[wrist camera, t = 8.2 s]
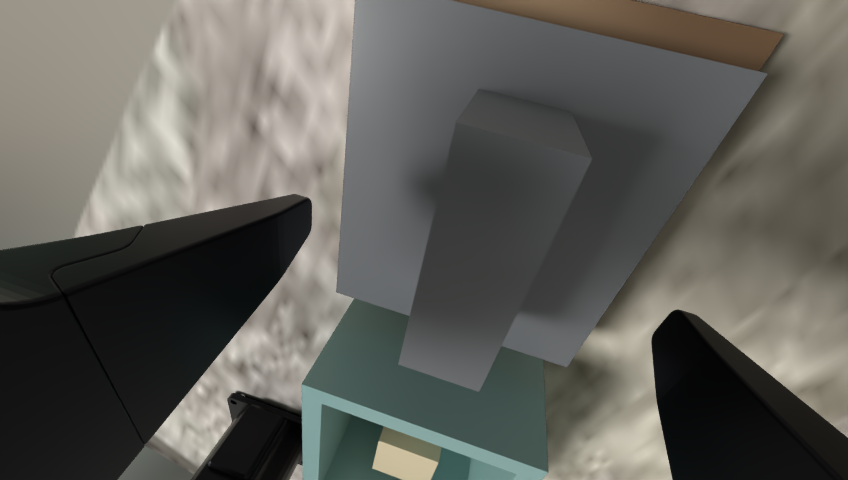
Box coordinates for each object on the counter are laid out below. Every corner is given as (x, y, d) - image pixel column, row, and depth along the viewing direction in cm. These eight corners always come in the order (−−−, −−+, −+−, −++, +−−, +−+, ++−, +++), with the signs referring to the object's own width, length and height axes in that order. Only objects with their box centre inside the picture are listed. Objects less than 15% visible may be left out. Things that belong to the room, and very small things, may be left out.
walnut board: (573, 339, 16) (574, 346, 15) (342, 266, 17) (339, 270, 16) (774, 32, 9) (783, 33, 9) (367, -58, 10) (362, -60, 10)
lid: (562, 328, 15) (577, 463, 11) (355, 263, 16) (288, 361, 11) (725, 63, 9) (915, 108, 5) (384, -16, 10) (268, -42, 6)
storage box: (482, 448, 22) (470, 560, 18) (347, 400, 23) (303, 495, 18) (542, 346, 16) (548, 472, 12) (360, 287, 17) (301, 384, 13)
